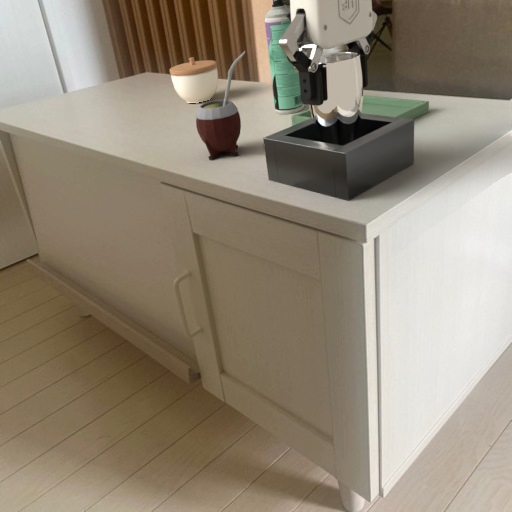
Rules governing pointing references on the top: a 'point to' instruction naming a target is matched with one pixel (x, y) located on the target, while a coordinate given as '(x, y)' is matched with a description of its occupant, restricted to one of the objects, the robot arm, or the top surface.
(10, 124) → the top surface
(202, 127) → the mate gourd
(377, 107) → the tray
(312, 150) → the basin
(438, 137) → the top surface
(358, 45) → the robot arm
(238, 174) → the top surface
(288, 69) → the spray can
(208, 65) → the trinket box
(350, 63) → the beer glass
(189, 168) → the top surface
